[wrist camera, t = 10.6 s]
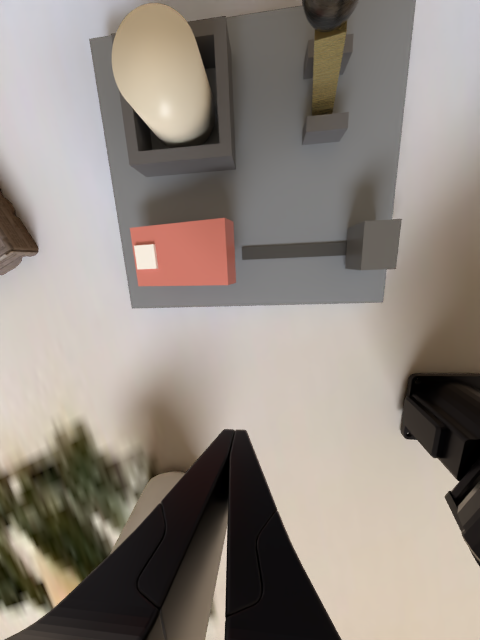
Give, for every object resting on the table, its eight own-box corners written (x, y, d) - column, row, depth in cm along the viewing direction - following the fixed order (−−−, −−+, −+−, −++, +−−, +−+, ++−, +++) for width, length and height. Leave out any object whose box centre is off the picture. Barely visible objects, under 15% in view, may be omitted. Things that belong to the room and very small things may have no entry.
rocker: (233, 221, 15) (223, 217, 14) (236, 282, 16) (227, 285, 15) (145, 230, 17) (127, 227, 16) (152, 284, 18) (136, 286, 17)
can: (141, 466, 26) (44, 627, 15) (204, 463, 25) (154, 634, 14) (156, 517, 28) (81, 697, 16) (216, 516, 27) (181, 707, 15)
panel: (405, 21, 15) (458, -68, 11) (377, 298, 19) (407, 308, 15) (109, 64, 17) (60, 2, 13) (143, 304, 21) (115, 314, 17)
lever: (342, 73, 14) (379, -122, 7) (340, 116, 14) (372, -22, 7) (304, 82, 14) (302, -88, 7) (303, 123, 15) (300, 2, 8)
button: (213, 67, 14) (194, -5, 10) (217, 148, 15) (202, 110, 12) (145, 76, 15) (104, 10, 11) (154, 154, 16) (119, 120, 12)
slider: (378, 226, 16) (401, 218, 13) (374, 267, 17) (395, 268, 14) (347, 227, 16) (364, 220, 13) (345, 268, 17) (360, 270, 14)
